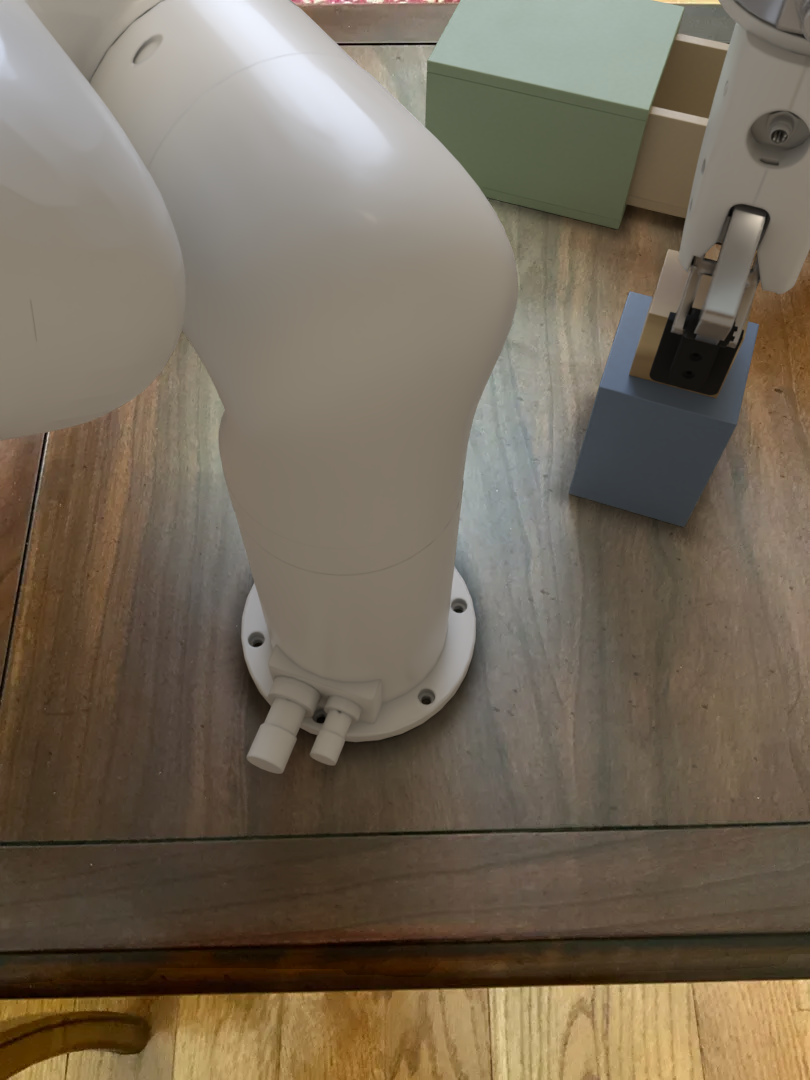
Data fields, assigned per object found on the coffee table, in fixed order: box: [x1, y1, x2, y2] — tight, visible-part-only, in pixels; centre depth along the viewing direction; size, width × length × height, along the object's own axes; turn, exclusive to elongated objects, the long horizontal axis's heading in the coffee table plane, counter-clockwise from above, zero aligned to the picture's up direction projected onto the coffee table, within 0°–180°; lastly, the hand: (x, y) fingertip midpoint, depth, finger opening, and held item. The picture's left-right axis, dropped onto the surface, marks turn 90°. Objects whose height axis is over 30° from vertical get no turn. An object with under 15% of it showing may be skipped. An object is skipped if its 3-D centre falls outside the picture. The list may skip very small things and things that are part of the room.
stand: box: [568, 290, 760, 528], centre depth 54 cm, size 7×7×10 cm
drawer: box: [626, 32, 730, 219], centre depth 66 cm, size 19×10×8 cm, turn 71°
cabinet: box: [424, 0, 686, 230], centre depth 68 cm, size 15×12×10 cm
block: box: [629, 248, 756, 398], centre depth 48 cm, size 4×4×4 cm
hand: (702, 308), depth 47 cm, fingers open, 9 cm apart
